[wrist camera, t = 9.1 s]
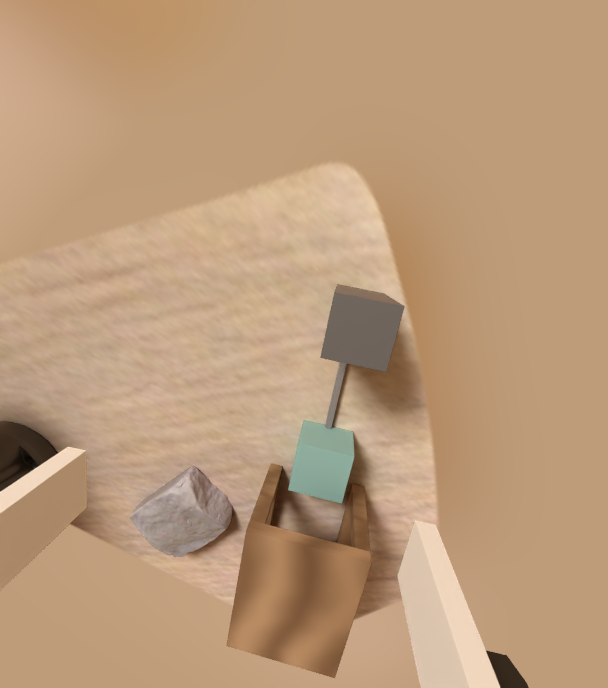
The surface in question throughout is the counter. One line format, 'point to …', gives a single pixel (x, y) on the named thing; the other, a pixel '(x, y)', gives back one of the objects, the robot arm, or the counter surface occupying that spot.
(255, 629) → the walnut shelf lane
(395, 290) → the counter surface
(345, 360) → the tethered block
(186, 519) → the stone block
